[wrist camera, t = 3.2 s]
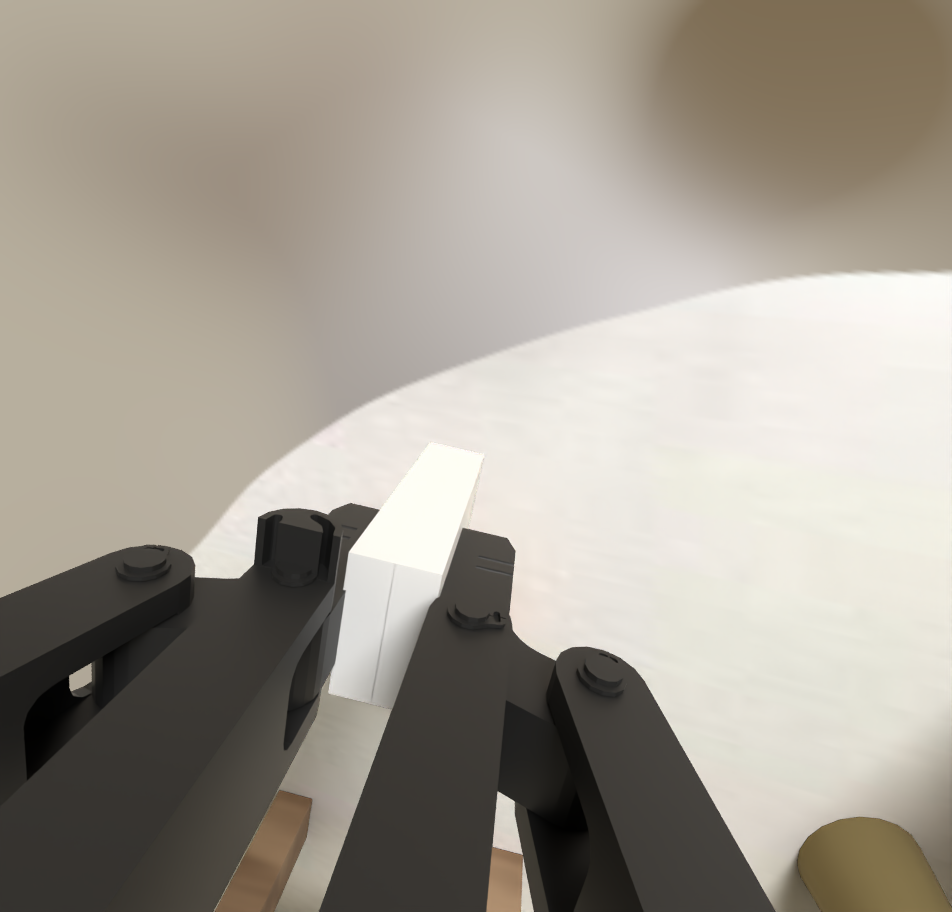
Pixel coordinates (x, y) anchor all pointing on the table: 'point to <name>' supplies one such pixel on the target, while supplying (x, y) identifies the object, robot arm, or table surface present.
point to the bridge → (282, 840)
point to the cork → (868, 869)
